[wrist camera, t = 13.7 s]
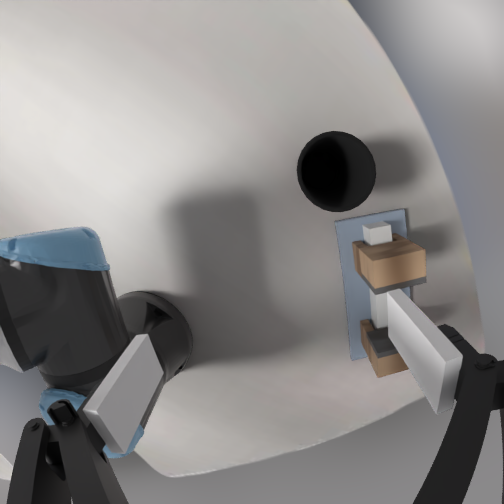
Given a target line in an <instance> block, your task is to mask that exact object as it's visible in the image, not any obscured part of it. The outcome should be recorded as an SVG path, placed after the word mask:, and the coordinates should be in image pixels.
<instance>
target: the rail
mask: <svg viewBox="0 0 504 504" xmlns="http://www.w3.org/2000/svg"><path fill="white" fill-rule="evenodd" d="M335 226H336V232H337V239H338V245H339V252H340V260H341V267H342V275H343V283H344V291H345V300H346V309H347V319H348V330H349V342H350V355H351V359H352V361H353V360H357V359H361V358H365V357H368V356H367V354H366V352H365V350H364V348H363V345H362V343H361V329H360V321H361V320H365V319H368V320H369V322H370V324H371V325H372V327H373V329H374V330H377V329H381V328H385V327H388V307H387V293H383V294H378V295H375V294H374V293H373V292H372V290H371V289H370V288H369V286H368V285H367V284H366V283H365V281H364V280H363V279H362V278H361V276H360V275H359V274H358V273H357V272H356V270H355V264H354V256H353V248H352V242H354V241H359V240H360V241H362V242H363V243H364V244H365V245H366V246H373V245H378V244H383V243H388V242H392V234H393V233H397V234H399V235H401V236H402V237H404V238H406V239H407V230H406V220H405V211H404V209H397V210H391V211H386V212H380V213H375V214H370V215H364V216H359V217H354V218H349V219H343V220H338V221H335ZM401 290H402V291H403V292H404V293H405V294H406V295H407V296H408V297H409V298H410V287H407V288H403V289H401Z"/></svg>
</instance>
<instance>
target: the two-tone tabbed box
mask: <svg viewBox="0 0 504 504" xmlns="http://www.w3.org/2000/svg"><path fill="white" fill-rule="evenodd" d="M360 329H361V343H362V345H363V348H364V350H365V352H366V354H367V356H368V358H369V360H370V362H371V364H372V366H373V369H374V371H375V373H376V375H377V377H378V378H379V377H383V376H386V375H390V374H394V373H397V372H401V371H404V370H407V369H409V368H408V366H407V365H406V363H405V362H404V360H403V358H402V357H401V355H400V354H399V352H398V351H397V349H396V347H395V346H394V344H393V343H392V341H391V340H390V338H389V336H388V327H385V328H381V329H377V330H374V329H373V327H372V325H371V324H370V322H369V320H368V319H365V320H361V321H360Z"/></svg>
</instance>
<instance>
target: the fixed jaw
mask: <svg viewBox="0 0 504 504" xmlns="http://www.w3.org/2000/svg"><path fill="white" fill-rule="evenodd" d="M352 248H353V256H354V264H355V270H356V272H357V273H358V274H359V275H360V276H361V278H362V279H363V280H364V281H365V283H366V284H367V285H368V286H369V288H370V289H371V290H372V292H373V293H374V294H375V295H378V294H383V293H387V292H388V291H392V290H396V289H403V288H407V287H411V286H415V285H418V284H422V283H426V256H425V249H423V248H422V247H420V246H418V245H417V244H415V243H413V242H411V241H409V240H408V239H406V238H404V237H402V236H401V235H399V234H397V233H393V234H392V242H388V243H383V244H378V245H373V246H366V245H365V244H364V243H363V242H362V241H360V240H359V241H354V242H352Z"/></svg>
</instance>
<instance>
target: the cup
mask: <svg viewBox="0 0 504 504" xmlns="http://www.w3.org/2000/svg"><path fill="white" fill-rule="evenodd" d="M297 176H298V181H299V184H300V187H301V189H302V191H303V192H304V194H305V196H306V197H307V198H308V199H309V200H310V201H311V202H312V203H313V204H314V205H316V206H318V207H320V208H321V209H324V210H327V211H331V212H344V211H348V210H351V209H353V208H355V207H357V206H359V205H360V204H361V203H363V202H364V201H365V200H366V199H367V197H368V196H369V195H370V193H371V191H372V189H373V186H374V184H375V178H376V168H375V162H374V159H373V156H372V154H371V153H370V151H369V149H368V148H367V146H366V145H365V144H364V143H363V142H362V141H361V140H359V139H358V138H356V137H355V136H353V135H351V134H348V133H345V132H339V131H331V132H325V133H322V134H320V135H318V136H316V137H314V138H313V139H312V140H310V141H309V142H308V143H307V144H306V146H305V147H304V148H303V150H302V151H301V154H300V156H299V159H298V165H297Z"/></svg>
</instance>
